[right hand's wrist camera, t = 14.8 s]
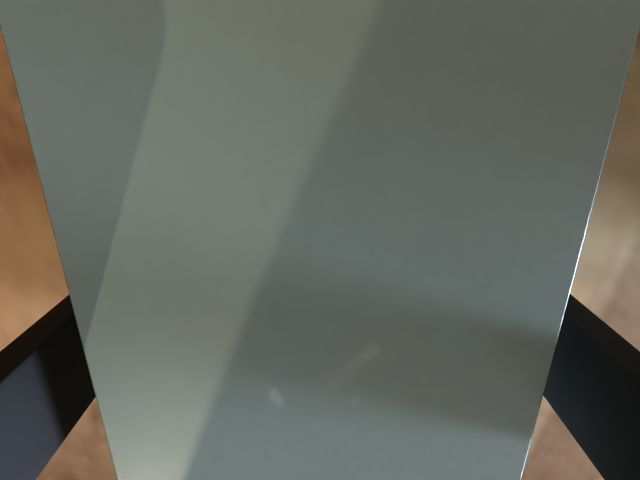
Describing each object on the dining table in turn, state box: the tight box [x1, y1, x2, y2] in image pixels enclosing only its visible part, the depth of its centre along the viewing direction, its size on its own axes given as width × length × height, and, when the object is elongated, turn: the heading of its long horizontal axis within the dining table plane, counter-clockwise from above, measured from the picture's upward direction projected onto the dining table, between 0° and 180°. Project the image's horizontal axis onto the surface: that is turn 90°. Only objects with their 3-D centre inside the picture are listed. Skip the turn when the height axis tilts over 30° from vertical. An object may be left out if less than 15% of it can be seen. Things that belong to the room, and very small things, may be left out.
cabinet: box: [0, 0, 640, 480], centre depth 11 cm, size 21×10×9 cm, turn 0°
